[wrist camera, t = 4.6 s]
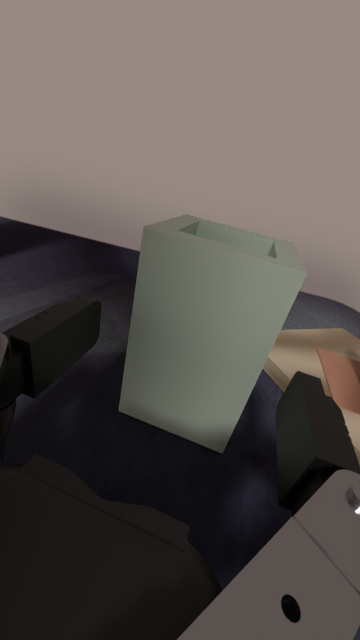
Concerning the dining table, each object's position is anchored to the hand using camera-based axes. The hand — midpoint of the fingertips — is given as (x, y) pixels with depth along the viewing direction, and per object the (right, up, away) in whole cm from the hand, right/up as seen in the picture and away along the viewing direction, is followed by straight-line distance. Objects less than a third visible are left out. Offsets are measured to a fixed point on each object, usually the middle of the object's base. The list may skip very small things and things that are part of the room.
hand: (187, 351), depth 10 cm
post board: (+14, -5, +10) cm, 18 cm away
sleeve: (0, -4, +6) cm, 7 cm away
